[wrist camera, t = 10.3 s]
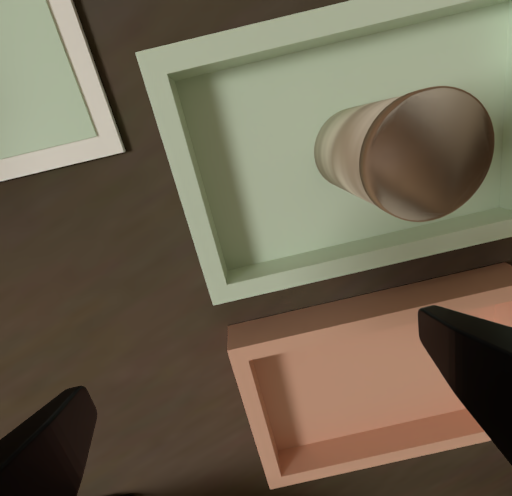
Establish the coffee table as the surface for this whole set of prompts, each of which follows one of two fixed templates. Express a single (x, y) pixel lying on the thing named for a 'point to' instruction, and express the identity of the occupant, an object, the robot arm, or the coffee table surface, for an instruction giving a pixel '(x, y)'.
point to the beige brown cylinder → (409, 152)
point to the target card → (49, 91)
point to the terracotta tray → (358, 378)
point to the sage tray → (307, 128)
